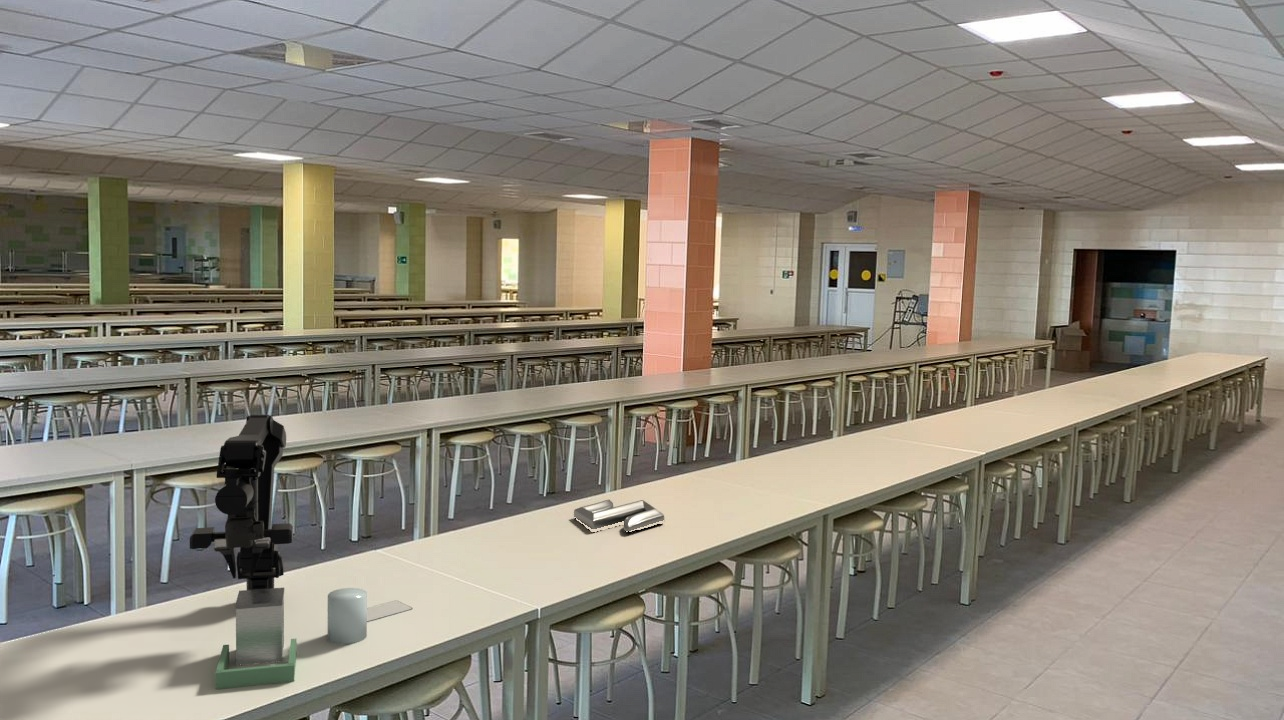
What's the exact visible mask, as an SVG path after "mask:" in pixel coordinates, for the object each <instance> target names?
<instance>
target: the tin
mask: <svg viewBox="0 0 1284 720" xmlns="http://www.w3.org/2000/svg"><path fill="white" fill-rule="evenodd" d="M237 593H238V594H237V596H236V597H237V598H236V600H235V605H234V610H235V661H236V662H235V665H238V666H243V665H242V664H249V665H255V664H254V663H259V664H267V663H266V662H269V663H277V662H278V661H280V662H283V657H282V656H284V655H283V654H284V649H283V648H284V646H285V605H284V604H285V587H274V588H270V589H257V590H247V589H245V590H244V589H243V590H239V591H238V592H237ZM276 661H277V662H276ZM278 663H279V662H278ZM240 664H241V665H240Z"/></svg>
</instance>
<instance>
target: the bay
mask: <svg viewBox="0 0 1284 720" xmlns="http://www.w3.org/2000/svg"><path fill="white" fill-rule="evenodd" d="M289 644H290V646H289V654H288V663H280V664H279V663H278V664H272V665H271V664H270V665H269V664H268V665H261V666H259V665H258V666H250V667H239V668H229V669H228V666H229V662H230V644H223V646H222V648H221V652H220V656H219V660H218V663H217V666H216V669H215V675H214V676H215V690H221V689H230V688H231V689H232V688H243V687H251V686H259V685H260V686H261V685H270V684H279V683H280V684H282V683H291V682H294V681H295V674H296V673H295V672H296V665H297V638H291V639H290V643H289Z"/></svg>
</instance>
